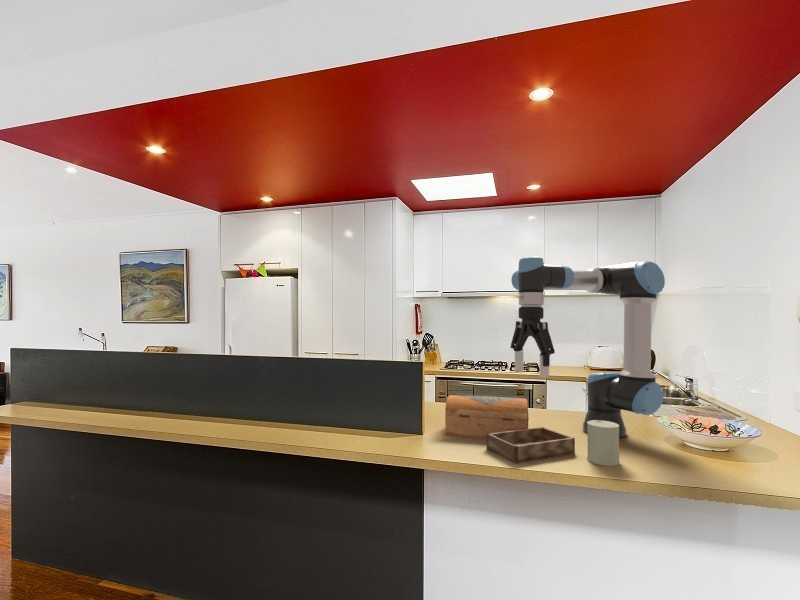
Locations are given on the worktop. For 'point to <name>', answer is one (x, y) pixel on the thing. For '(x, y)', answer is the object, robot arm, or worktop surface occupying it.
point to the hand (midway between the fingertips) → (531, 374)
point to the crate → (530, 444)
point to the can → (603, 442)
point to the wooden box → (484, 415)
